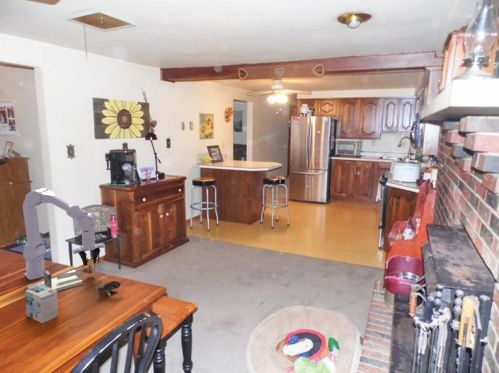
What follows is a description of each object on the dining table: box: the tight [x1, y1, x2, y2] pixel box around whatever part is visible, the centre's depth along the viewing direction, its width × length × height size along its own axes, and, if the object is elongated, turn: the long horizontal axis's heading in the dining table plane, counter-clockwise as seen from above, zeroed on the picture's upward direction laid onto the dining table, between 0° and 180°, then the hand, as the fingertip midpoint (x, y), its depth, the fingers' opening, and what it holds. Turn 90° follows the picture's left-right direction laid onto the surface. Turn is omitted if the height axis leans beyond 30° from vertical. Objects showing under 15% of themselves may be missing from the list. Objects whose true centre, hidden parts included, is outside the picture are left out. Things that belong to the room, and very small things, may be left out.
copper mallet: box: [56, 256, 95, 280], centre depth 164 cm, size 4×17×7 cm, turn 137°
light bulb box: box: [24, 285, 59, 324], centre depth 133 cm, size 11×7×11 cm, turn 62°
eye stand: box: [26, 269, 84, 292], centre depth 158 cm, size 12×20×8 cm, turn 137°
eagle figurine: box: [95, 280, 121, 300], centre depth 151 cm, size 8×7×9 cm
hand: (89, 264), depth 169 cm, fingers closed on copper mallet, 4 cm apart
